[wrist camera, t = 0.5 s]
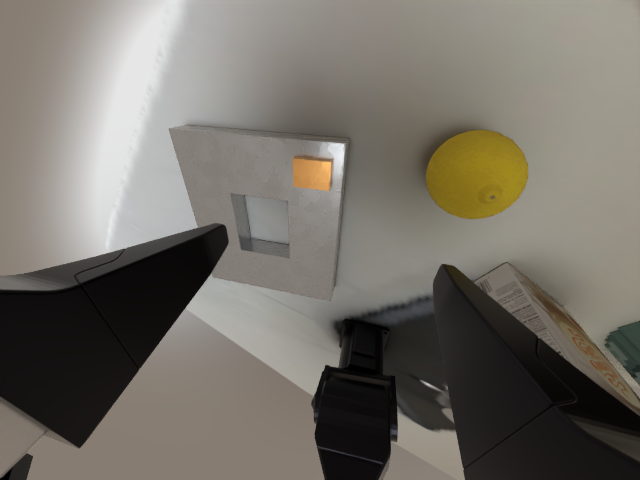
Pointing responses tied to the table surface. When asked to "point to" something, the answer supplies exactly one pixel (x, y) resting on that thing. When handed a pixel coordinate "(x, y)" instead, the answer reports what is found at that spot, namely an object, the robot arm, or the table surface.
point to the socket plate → (268, 182)
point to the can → (627, 348)
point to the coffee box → (555, 329)
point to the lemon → (477, 174)
